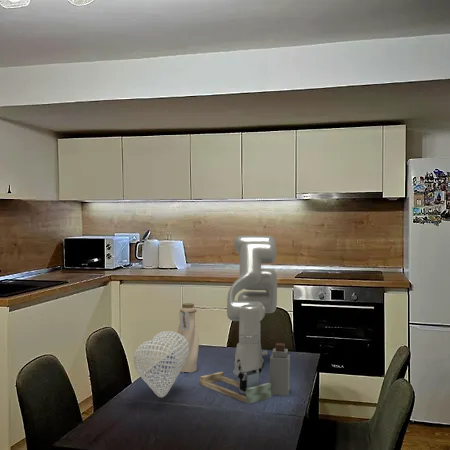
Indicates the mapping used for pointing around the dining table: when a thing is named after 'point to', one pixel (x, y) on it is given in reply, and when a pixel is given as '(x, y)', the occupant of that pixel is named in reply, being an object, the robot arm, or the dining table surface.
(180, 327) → the water bottle
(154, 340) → the heart
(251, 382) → the grey rectangular block
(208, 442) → the dining table surface
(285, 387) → the perfume bottle
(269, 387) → the track
